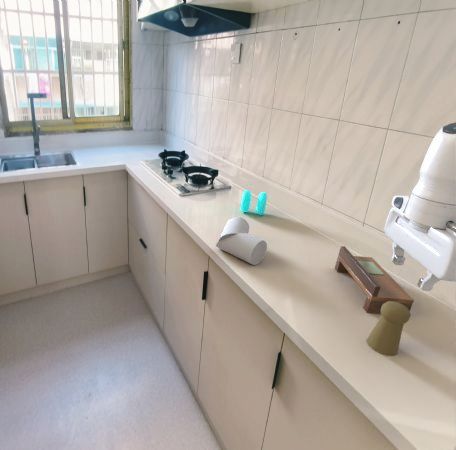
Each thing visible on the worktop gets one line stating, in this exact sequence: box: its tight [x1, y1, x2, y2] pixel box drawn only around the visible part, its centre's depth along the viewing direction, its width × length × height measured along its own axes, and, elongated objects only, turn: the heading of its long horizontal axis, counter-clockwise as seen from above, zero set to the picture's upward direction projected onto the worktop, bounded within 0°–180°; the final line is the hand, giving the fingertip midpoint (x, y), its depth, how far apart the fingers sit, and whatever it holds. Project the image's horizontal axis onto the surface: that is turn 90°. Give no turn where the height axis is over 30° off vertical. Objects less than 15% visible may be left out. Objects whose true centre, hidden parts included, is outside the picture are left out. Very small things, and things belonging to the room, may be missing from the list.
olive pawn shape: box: [366, 301, 411, 357], centre depth 74 cm, size 6×6×11 cm
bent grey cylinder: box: [215, 216, 268, 266], centre depth 115 cm, size 18×11×20 cm
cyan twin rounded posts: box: [240, 189, 268, 216], centre depth 146 cm, size 10×10×10 cm
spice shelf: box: [334, 245, 415, 315], centre depth 95 cm, size 10×22×8 cm, turn 174°
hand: (409, 275), depth 69 cm, fingers open, 8 cm apart
